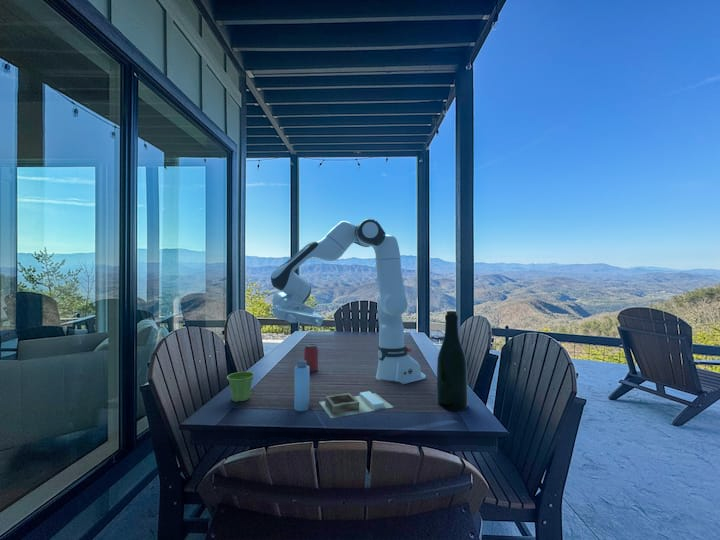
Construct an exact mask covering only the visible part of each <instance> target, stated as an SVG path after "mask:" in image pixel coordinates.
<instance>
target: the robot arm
mask: <svg viewBox="0 0 720 540" xmlns="http://www.w3.org/2000/svg"><path fill="white" fill-rule="evenodd" d="M353 244H356V245H359V246H361V247H364V248H369V247H372V248H373V250H374V254H375V266H376V277H377V284H378V287H379V288H378V289H379V295H378V297H377V300H376V303H377V304H376V306H377V321H378V336H379V337H378V340H379V341H378V345H377V348H378V349H377V356H378V357H377V358H378V359H377V360H378V364H377V370H376V375H375V379H376V380H377V381H380V380H383V381H390V382H398V383H400V384H403V385H405V384H409V383H413V382H417V381H422V380H425V379H427V376H426V374H425V373H423V372H422V370H421V366H420V363H419V362H418V361H417V360H416V359H414V358H413V357H412V356H410V355H409V354H408V353H412V347H409V346H405V327H404V323H403V316H402V315H404V313H406V312H407V309H408V306H409V305H408V300H407V295H406V290H405V289H406V288H405V285H404V281H403V275H402V274H403V273H402V262H401V261H402V259H401V252H400V247H399V243H398V240H397V238H396V237H395V236H394V235H390V234H386V232H385V230H384V229H383V228H382V226H381V224H380V223H379V222H378V221H377V220H375V219H373V218H367V219H365V218H364V219H363V220H362V221H360V223H358V225H355V224H353V223H351V221H350V222H349V221H348V220H341V221H340V222H338V223H337V224H336V225H334V227H332V228H331V229H330V230H329V231H328V232H327V233H326V234H325V236H324V237H323V238H321V239H319V240H317V241H316V240H312V241H311V242H308V243H307V244H306V245H305V246H303V247H302V248H301V249H300V250H298V252H297V251H296V253H295V254H294V255H293V256H292V257H290V258H289V259H288V260H287V261H285V263H283V264H281V265H279V266H278V267H277V268H276V269H275V270H274V271H273V272H272V273H271V275H270V282H271V285H272V287H273V288H275V289H276V290H278V291H279V292H276V293H275V294H274V295H273V296H272V301H271V302H272V306H270V310H271V311H272V312H273V313H272V314H273V316H274V317H275V318H276V319H278V320H281V321H282V320H283V321H287V322H289V323H292V324H298V323H300V324H305V325H313V326H314V327H316V328H318V327H321V326H322V323H323V321H324V317H323V315H321V314H320V313H319V312H318V311H315V308H314V307H311V306H309V305H306V304H305V303H306V302H307V301H308V299H309V298H310V296H311V293H312V287H311V283H309V282H308V281H307V280H306V279H304V278H303V277H301V276H300V275H299V274H297V273H296V272H295V271H296V270H297V269H298V268H299V267H301V266H302V265H303V264H304V263H305V262H306V261H308V260H309V259H312V258H314V259H320V260H324V261H328V262H333V261H337V260H338V259H340V258H341V257H342V256H343V255H344V253H346V251H347V250H348V249H349V248H350V246H351V245H353Z"/></svg>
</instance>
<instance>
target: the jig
mask: <svg viewBox="0 0 720 540" xmlns="http://www.w3.org/2000/svg"><path fill="white" fill-rule="evenodd" d="M373 394H374V395H375V396H376V397H378V398H379V399H380V400H381V401H383V402H384V408H378V409H373V408H372V407H370V406H369V405H368V404H367V403H366V402H365V401H364V400H363V399H361V398H360V395H357V396H356V395H355V396H353V395H352V393H350V392H347V393H340V394H333V395H328V396H327V395H326V396H325V397H324V400H323V401H319V402H318V403H319V404H320V406H321V407H322V409H323V410H324V411H325V413H326V414H327V415H328V416H329V418H330V419H336V418H341V417H346V416H353V415H357V414H363V413H369V412H375V411H379V410H380V411H381V410H386V409H392V408H394V406H393V405H392V404H391V403H389V402H387V400H385V399H384V398H382V397H381V396H380V395H379V394H377V393H376V392H375V393H373Z"/></svg>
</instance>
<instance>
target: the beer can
mask: <svg viewBox="0 0 720 540" xmlns="http://www.w3.org/2000/svg"><path fill="white" fill-rule="evenodd" d="M303 360H306V361H307V365H308V366H309V373H313V372H317V371H318V369H319V347H318V345H317V344H313V343H310V344H309V343H308V344H305V346H304V351H303Z"/></svg>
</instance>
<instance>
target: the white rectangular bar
mask: <svg viewBox="0 0 720 540" xmlns="http://www.w3.org/2000/svg"><path fill="white" fill-rule="evenodd" d="M359 396H360V398H361V399H363V400H364V401H365V402H366V403H367V404H368V405H369V406H370V407H372V408H373V409H378V408H384V402H383V401H381V400H380V399H379V398H378V397H376V396H375V395H374V393H372V392H371V391H370V390H369V391H361V392H359Z"/></svg>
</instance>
